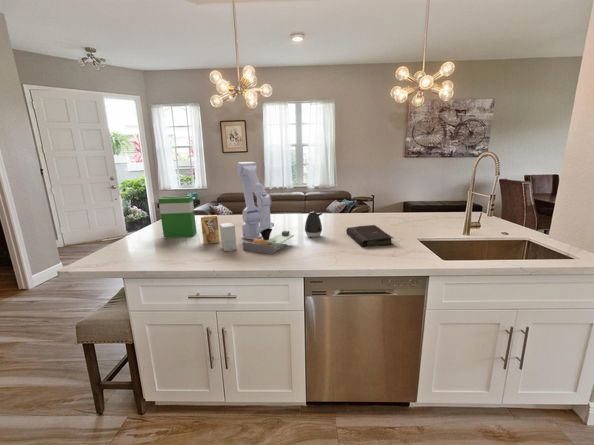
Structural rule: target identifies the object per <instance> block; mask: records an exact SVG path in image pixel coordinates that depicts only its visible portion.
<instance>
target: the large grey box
mask: <svg viewBox="0 0 594 445" xmlns="http://www.w3.org/2000/svg"><path fill="white" fill-rule="evenodd" d="M284 247H287V243H282V244H280V245H279V244H272V246H271V245H265V244H258V243H253V242H250V241H242V250H245V251H250V252H256V253H261V254H262V253H263V254H268V255H273V254H275V253H277V252H278V251H281V249H283V248H284Z"/></svg>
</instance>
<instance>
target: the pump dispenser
mask: <svg viewBox="0 0 594 445" xmlns="http://www.w3.org/2000/svg"><path fill="white" fill-rule="evenodd" d="M321 215H323V212H319V213H318V212H317V211H313V210H312V211H310V212H309V213H308V215H307V217H306V220H305V224H304V232H305V234H306V236H308V237H309V238H318V237H320V236H321V233H322V232H323V226H322V225H323V224H322V221H321V218H320V216H321Z"/></svg>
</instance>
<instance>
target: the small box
mask: <svg viewBox="0 0 594 445" xmlns="http://www.w3.org/2000/svg"><path fill="white" fill-rule="evenodd" d="M219 232H220V233H219V234H220V240H221V242H220V243H221V248H222V250H223V251H224V252H229V251H235V250H237V239H236V238H237V237H236V226H235V225H234V224H233V223H232V222H227V223H226V222H225V223H224V222H223V223H219Z"/></svg>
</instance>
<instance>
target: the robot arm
mask: <svg viewBox="0 0 594 445" xmlns="http://www.w3.org/2000/svg"><path fill="white" fill-rule="evenodd" d="M257 169H258V168H257V163H256V162H255V161H243V162H241V161H239V162H238V163H237V165H236V172H237V175H238V178H239V179H240V181H241V185H242V187H241V188H242V192H243V196H244V202H245V207H244V208H243V209H242V220H243V224H242V228H241V229H242V238H243V239H248V240H253V241H254V239H261V238H262V240H270V236H271V233H272V231H273V227H274V226H275V223H274V222H271V206H272V203H273V202H272V197H271V195H270V194H269V193H267V192H266V189H265V187H264V185H263V184H262V183H260V180H259V178H258V174H257ZM251 183H252V184H251ZM252 185H253V187H252ZM253 192H254V194H253ZM254 195H255V196H256V203H255V200H254ZM256 204H257V206H256Z"/></svg>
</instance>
